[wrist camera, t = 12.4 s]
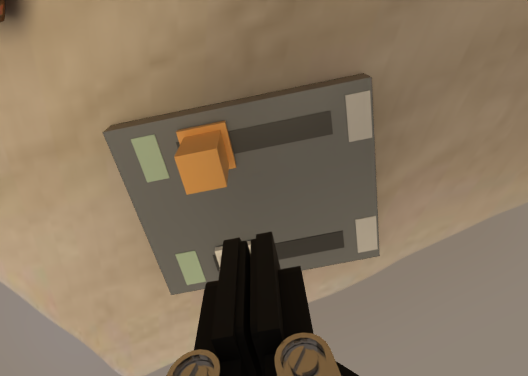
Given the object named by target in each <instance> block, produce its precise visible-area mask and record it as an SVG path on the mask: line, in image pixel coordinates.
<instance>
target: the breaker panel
mask: <svg viewBox="0 0 528 376" xmlns="http://www.w3.org/2000/svg"><path fill="white" fill-rule="evenodd" d="M220 121H226V125H227V129H228V133H229V137H230V141H231V145H232V149H233V153H234V157H235V162H236V168H233V169H229V171H228V182H227V187H224V188H219V189H214V190H209V191H203V192H198V193H193V194H188V195H187V194H186V191H185V188H184V185H183V182H182V179H181V176H180V173H179V170H178V167H177V164H176V161H175V158H174V156H175V154H176V152H177V150H178V148H179V146H180V143H179V140H178V137H177V134H176V132H177V130H181V129H186V128H191V127H196V126H200V125H205V124H210V123H215V122H220ZM103 134H104V137H105V139H106V141H107V144H108V146H109V149H110V151H111V153H112V156H113V158H114V160H115V163H116V165H117V168H118V170H119V172H120V175H121V177H122V179H123V182H124V184H125V186H126V189H127V191H128V194H129V196H130V198H131V201H132V203H133V205H134V208H135V210H136V212H137V215H138V217H139V220H140V222H141V224H142V227H143V229H144V231H145V234H146V236H147V239H148V241H149V243H150V246H151V248H152V250H153V253H154V255H155V257H156V260H157V262H158V265H159V267H160V269H161V272H162V274H163V276H164V279H165V281H166V283H167V286H168V288H169V291H170V293H171V295H174V294H180V293H185V292H190V291H196V290H201V289H205V285H206V283H207V282H211V281H217V280H219V271H220V267H219V263H218V260H217V257H216V254H215V247H221V246H223V241H224V240H228V239H233V238H239V237H240V239H241V241H251V239H256V234H261V233H266V232H271V231H272V234H273V238H274V242H275V246H276V251H277V255H278V259H279V264H280V268H281V269H285V268H290V267H296V266H301V271H302V270H307V269H313V268H318V267H323V266H329V265H334V264H339V263H345V262H350V261H355V260H361V259H366V258H371V257H377V256H380V255H379V232H378V210H377V187H376V165H375V142H374V120H373V97H372V77H370V76H368V75H366V74H364V73H363V74H358V75H353V76H348V77H344V78H339V79H334V80H329V81H324V82H319V83H314V84H310V85H305V86H300V87H295V88H290V89H285V90H281V91H276V92H271V93H266V94H261V95H256V96H251V97H247V98H242V99H237V100H232V101H227V102H222V103H218V104H213V105H208V106H203V107H198V108H193V109H188V110H184V111H179V112H174V113H169V114H164V115H159V116H154V117H150V118H145V119H140V120H135V121H130V122H125V123H121V124H116V125H111V126H110V127H109V128H107V129H106V130H105V131H104V132H103Z"/></svg>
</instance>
